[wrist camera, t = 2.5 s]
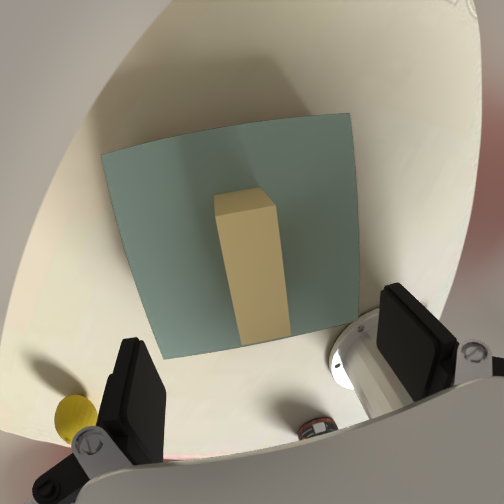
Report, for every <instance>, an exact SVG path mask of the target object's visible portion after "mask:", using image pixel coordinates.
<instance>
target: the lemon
mask: <svg viewBox="0 0 504 504" xmlns="http://www.w3.org/2000/svg"><path fill="white" fill-rule="evenodd" d="M97 418H98V416H97V411H96V409H95V407H94V405H93V404H92V403H91V401H90V400H88V399H87V398H85V397H84V396H81V395H69V396H67V397H65V398H64V399H63V400H62V401H61V402H60V403H59V405H58V407H57V409H56V412H55V419H54V421H55V428H56V431H57V432H58V434H59V436H60V437H61V438H62V439H63V440H64V441H66V442H67V443H68V444H71V443H72V440H73V437H74V436H75V434H76V433H77V432H78V431H80V430H81V429H83V428H85V427H88V426H96V422H97Z"/></svg>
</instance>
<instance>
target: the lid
mask: <svg viewBox="0 0 504 504" xmlns="http://www.w3.org/2000/svg"><path fill="white" fill-rule="evenodd" d="M101 158H102V163H103V168H104V172H105V177H106V181H107V185H108V189H109V194H110V198H111V202H112V206H113V209H114V213H115V217H116V221H117V224H118V228H119V232H120V235H121V239H122V242H123V246H124V249H125V252H126V255H127V259H128V262H129V265H130V268H131V271H132V275H133V278H134V281H135V284H136V287H137V290H138V293H139V296H140V298H141V301H142V304H143V307H144V310H145V312H146V315H147V318H148V321H149V323H150V326H151V329H152V331H153V334H154V336H155V339H156V342H157V344H158V347H159V349H160V352H161V354H162V357H163V359H171V358H179V357H185V356H192V355H198V354H205V353H211V352H217V351H223V350H228V349H234V348H239V347H245V346H250V345H255V344H260V343H265V342H270V341H275V340H279V339H284V338H289V337H293V336H298V335H302V334H306V333H311V332H315V331H319V330H323V329H327V328H331V327H335V326H339V325H343V324H347V323H350V322H354V321H358V312H359V224H358V201H357V184H356V170H355V157H354V146H353V136H352V127H351V118H350V113H342V114H326V115H313V116H302V117H292V118H283V119H275V120H267V121H259V122H252V123H245V124H238V125H232V126H226V127H220V128H214V129H209V130H203V131H198V132H193V133H188V134H183V135H179V136H174V137H169V138H165V139H160V140H156V141H152V142H148V143H144V144H140V145H136V146H132V147H128V148H124V149H121V150H117V151H113V152H110V153H106V154H103V155H101Z"/></svg>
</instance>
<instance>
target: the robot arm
mask: <svg viewBox="0 0 504 504" xmlns="http://www.w3.org/2000/svg"><path fill="white" fill-rule="evenodd" d="M456 340H457V339H456V338H455V337H454V336H453V335H452V334H451V333H450V331H448V329H446V327H445V326H444V325H443V324H442V323H440V321H439V320H438V319H437V318H435V317H434V316H433V315H432V314H431V313H430V312H429V311H428V310H427V309H426V308H425V307H424V306H423V305H422V304H421V303H420V302H419V301H418V300H417V299H416V298H415V297H414V296H413V295H412V294H411V293H410V292H409V291H407V290H406V289H405V288H404V287H403V286H402V285H401V284H400V283H393V284H390V285H386V286H385V287H384V290H382V291H381V294H380V307H379V308H377V309H374V310H372V311H370V312H368V313H366V314H364V315H362V316H361V317H359V318H358V321H354V322H352V323H351V324H350V325H349V326H348V327H347V328H346V329H345V330H344V331H343V332H342V333H341V335H340V336H339V337H338V339H337V340H336V342H335V344H334V346H333V348H332V350H331V353H330V357H329V368H330V372H331V374H332V376H333V378H334V379H335V381H336V382H337V383H338V384H340V385H341V386H343V387H346V388H348V389H354V390H355V392H356V394H357V396H358V398H359V400H360V402H361V404H362V406H363V408H364V410H365V412H366V414H367V415H368V417H369V419H370V420H367V421H364V422H361V423H358V424H355V425H352V426H349V427H346V428H343V429H340V430H336V431H333V432H330V433H326V434H323V435H319V436H315V437H312V438H308V439H304V440H300V441H296V442H292V443H288V444H283V445H279V446H274V447H269V448H265V449H260V450H254V451H249V452H243V453H237V454H231V455H225V456H218V457H210V458H202V459H194V460H185V461H175V462H163V445H164V425H165V409H166V390H165V387H164V385H163V383H162V381H161V379H160V376H159V374H158V372H157V370H156V368H155V366H154V363H153V361H152V359H151V357H150V354H149V352H148V350H147V347H146V345H145V343H144V341H143V340H140V341H139V339H138V338H137V337H134V338H127V339H123V340H122V343H121V346H120V349H119V353H118V356H117V360H116V363H115V367H114V371H113V374H110V375H109V377H108V379H107V383H106V387H105V390H104V394H103V398H102V402H101V406H100V410H99V414H98V418H97V422H96V426H88V427H85V428H83V429H81V430H80V431H78V432H77V433H76V434H75V436H74V437H73V440H72V443H71V448H72V451H73V453H72V454H71V455H69V456H68V457H66V458H65V459H64V460H62V461H61V462H60V463H58V464H57V465H55V466H54V467H52V468H51V469H50V470H49V471H47V472H46V473H44V474H43V475H41V476H40V477H39V478H38V479H37V480H36V481H35V483H34V485H33V488H32V492H33V497H34V498H33V499H32V500H31V501H30V500H29V499H27V501H26V502H25V503H24V504H504V358H499V357H493V356H492V353H491V350H490V348H489V346H488V345H486V344H485V343H483V342H481V341H479V340H475V339H469V340H465V341H463V342H462V343H460V344H459V343H458V342H457V341H456Z"/></svg>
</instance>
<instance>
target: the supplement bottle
mask: <svg viewBox="0 0 504 504" xmlns="http://www.w3.org/2000/svg"><path fill="white" fill-rule="evenodd" d="M336 430H338V427H337V425H336V423H335V422H334V421H333V420H331V419H328V418H321V419H315V420H312V421H310V422H308V423H306V424H305V425H304V426H302V427H301V429H300V430H299V432H298V438H299V441H300V440H304V439H308V438H312V437H315V436H319V435H323V434H326V433H330V432H333V431H336Z"/></svg>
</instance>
